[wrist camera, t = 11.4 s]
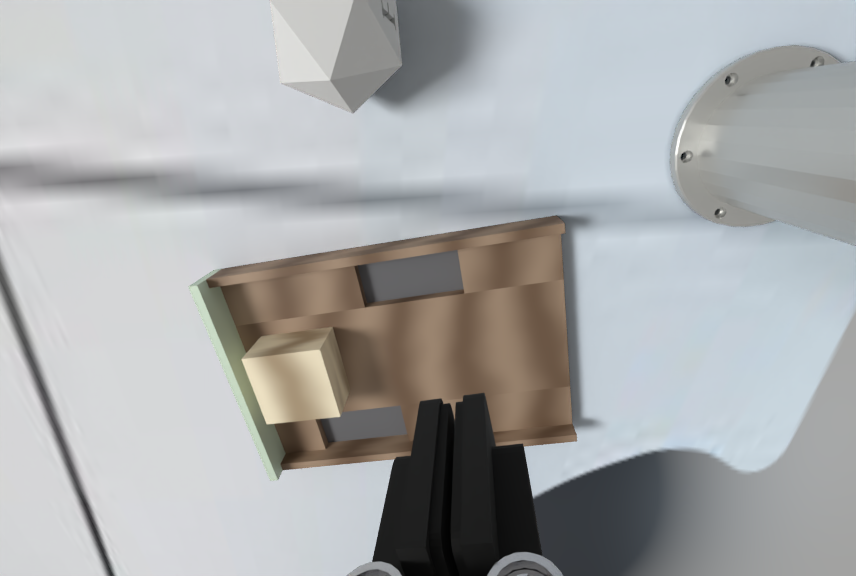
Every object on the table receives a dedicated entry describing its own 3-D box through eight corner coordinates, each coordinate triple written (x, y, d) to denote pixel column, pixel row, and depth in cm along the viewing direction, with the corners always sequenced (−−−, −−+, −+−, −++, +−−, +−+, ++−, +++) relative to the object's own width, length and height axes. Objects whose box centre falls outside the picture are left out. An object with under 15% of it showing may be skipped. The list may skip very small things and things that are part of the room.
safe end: (221, 268, 38) (197, 285, 34) (291, 450, 46) (277, 480, 42) (213, 270, 38) (188, 286, 34) (284, 451, 46) (270, 480, 42)
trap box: (556, 215, 35) (564, 223, 32) (569, 422, 43) (576, 441, 40) (221, 268, 38) (205, 279, 36) (291, 450, 46) (282, 470, 44)
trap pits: (456, 240, 36) (456, 241, 36) (485, 424, 43) (485, 426, 43) (270, 269, 38) (270, 270, 38) (328, 441, 45) (328, 442, 45)
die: (379, 130, 33) (434, 71, 25) (265, 121, 30) (283, 48, 21) (370, 27, 33) (421, -69, 25) (253, 4, 29) (266, -118, 21)
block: (332, 326, 38) (319, 349, 35) (350, 389, 41) (340, 416, 37) (261, 336, 39) (241, 359, 36) (283, 397, 42) (266, 424, 38)
